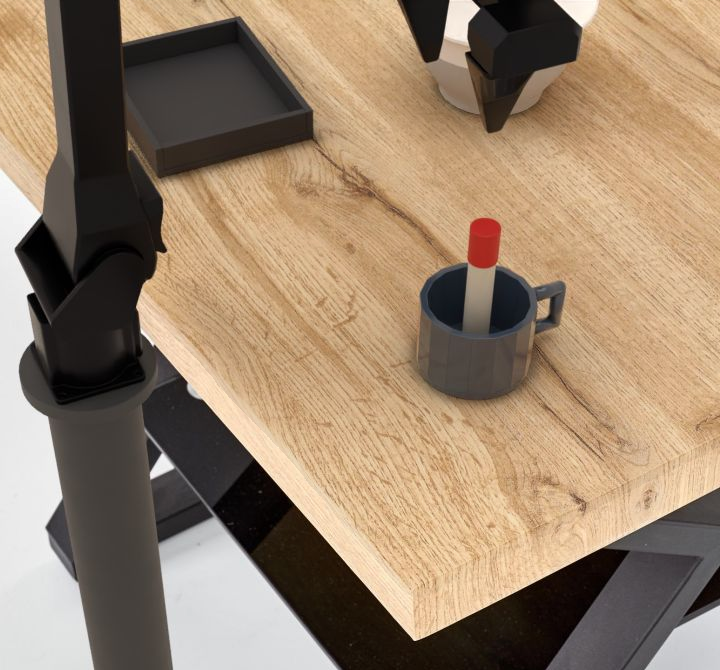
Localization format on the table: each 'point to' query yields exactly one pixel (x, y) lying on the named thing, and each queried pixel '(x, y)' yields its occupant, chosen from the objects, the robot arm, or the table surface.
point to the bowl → (452, 61)
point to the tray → (208, 97)
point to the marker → (481, 274)
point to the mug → (481, 351)
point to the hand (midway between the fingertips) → (461, 95)
